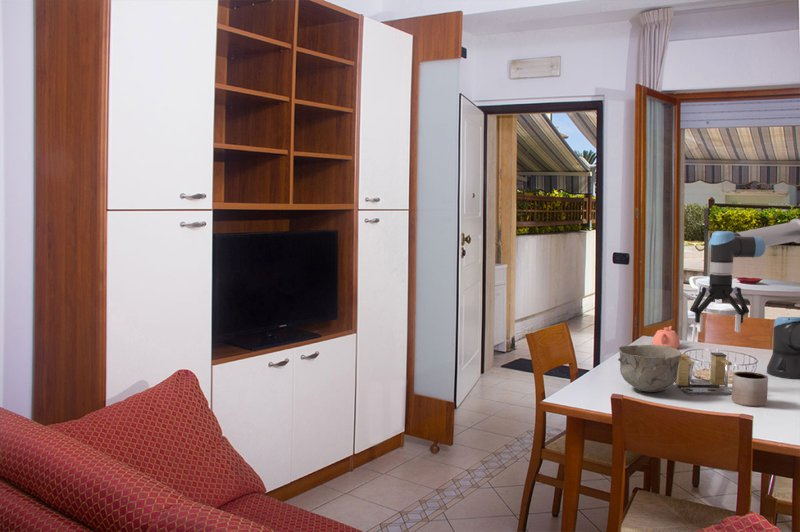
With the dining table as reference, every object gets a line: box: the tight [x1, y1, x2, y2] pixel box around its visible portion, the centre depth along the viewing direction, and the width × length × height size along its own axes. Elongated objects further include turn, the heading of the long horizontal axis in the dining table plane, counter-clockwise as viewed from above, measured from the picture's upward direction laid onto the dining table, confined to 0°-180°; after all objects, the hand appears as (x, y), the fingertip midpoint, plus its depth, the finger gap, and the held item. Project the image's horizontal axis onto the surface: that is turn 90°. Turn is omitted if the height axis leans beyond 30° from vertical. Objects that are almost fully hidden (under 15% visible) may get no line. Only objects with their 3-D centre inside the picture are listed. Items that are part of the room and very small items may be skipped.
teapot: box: [651, 325, 681, 350], centre depth 336 cm, size 12×18×10 cm
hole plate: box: [681, 387, 732, 396], centre depth 255 cm, size 16×6×1 cm, turn 89°
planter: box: [730, 371, 769, 408], centre depth 243 cm, size 11×11×10 cm
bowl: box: [617, 344, 683, 393], centre depth 257 cm, size 22×22×15 cm
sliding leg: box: [709, 351, 733, 388], centre depth 259 cm, size 4×12×11 cm, turn 179°
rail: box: [675, 382, 721, 389], centre depth 263 cm, size 15×2×1 cm, turn 89°
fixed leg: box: [674, 353, 695, 387], centre depth 259 cm, size 4×12×11 cm, turn 179°
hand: (718, 331), depth 261 cm, fingers open, 13 cm apart
